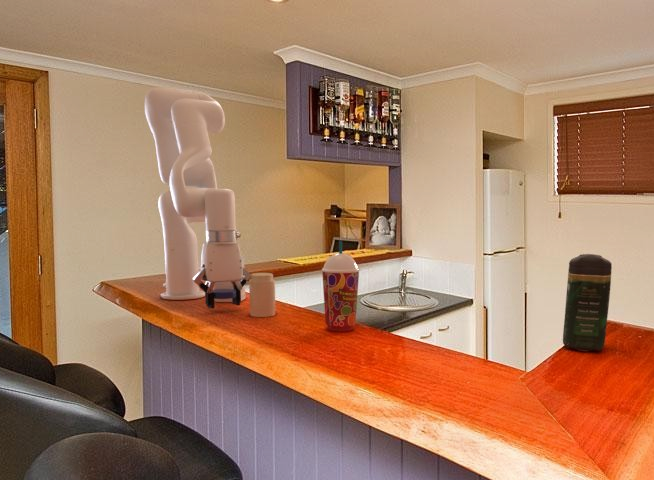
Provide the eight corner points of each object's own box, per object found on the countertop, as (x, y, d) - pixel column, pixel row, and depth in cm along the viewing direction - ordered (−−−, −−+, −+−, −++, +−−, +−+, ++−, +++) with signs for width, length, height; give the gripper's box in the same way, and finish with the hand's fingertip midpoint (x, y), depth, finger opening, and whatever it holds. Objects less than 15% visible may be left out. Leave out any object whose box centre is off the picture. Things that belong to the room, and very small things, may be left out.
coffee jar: (606, 354, 106) (614, 257, 103) (561, 350, 109) (568, 255, 106) (603, 343, 115) (611, 253, 112) (562, 339, 118) (569, 251, 115)
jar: (244, 314, 142) (243, 274, 140) (264, 311, 147) (263, 271, 145) (261, 318, 138) (260, 276, 136) (280, 314, 143) (280, 274, 141)
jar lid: (205, 296, 146) (205, 290, 146) (229, 293, 150) (229, 287, 150) (216, 299, 141) (216, 293, 141) (240, 297, 145) (240, 291, 145)
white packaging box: (246, 298, 166) (245, 255, 164) (238, 302, 158) (237, 258, 156) (222, 297, 166) (220, 255, 164) (213, 302, 159) (211, 258, 157)
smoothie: (346, 335, 121) (346, 242, 117) (314, 330, 125) (314, 240, 122) (365, 327, 128) (366, 240, 124) (335, 323, 132) (335, 238, 129)
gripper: (244, 235, 151) (246, 300, 154) (182, 238, 141) (186, 307, 144) (258, 237, 146) (259, 304, 149) (194, 239, 135) (197, 312, 138)
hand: (223, 305), depth 146 cm, fingers closed on jar lid, 6 cm apart
